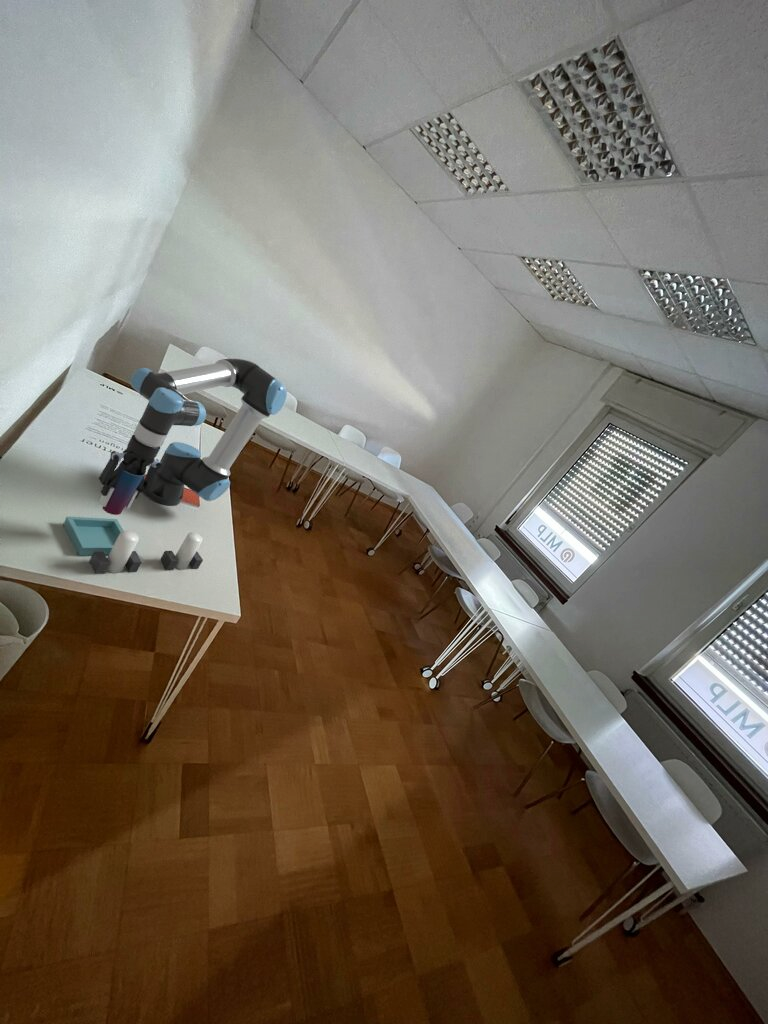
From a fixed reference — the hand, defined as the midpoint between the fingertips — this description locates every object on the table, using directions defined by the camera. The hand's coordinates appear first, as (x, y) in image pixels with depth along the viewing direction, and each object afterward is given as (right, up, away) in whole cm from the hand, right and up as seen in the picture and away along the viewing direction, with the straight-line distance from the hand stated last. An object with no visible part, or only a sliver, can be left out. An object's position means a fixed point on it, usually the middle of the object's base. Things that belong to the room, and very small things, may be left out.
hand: (114, 504), depth 124 cm
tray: (-8, -11, +4) cm, 14 cm away
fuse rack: (+6, -19, +8) cm, 21 cm away
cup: (-1, -2, +1) cm, 2 cm away
